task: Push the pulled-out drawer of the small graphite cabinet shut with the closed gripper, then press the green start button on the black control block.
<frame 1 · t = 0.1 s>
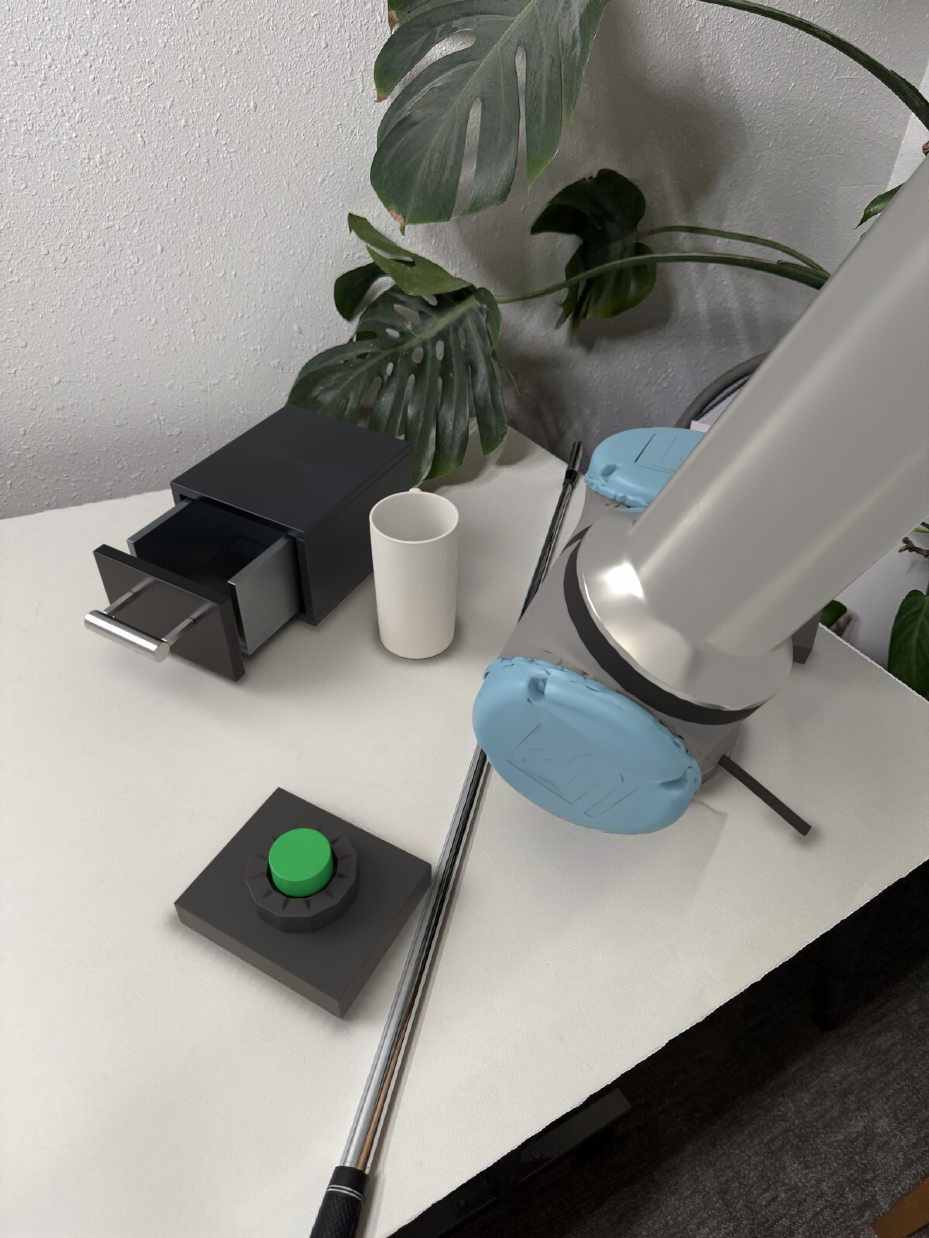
start button: (301, 861, 52), point 4 cm above the table, slide at 0.1 cm
mechanical component: (695, 635, 71), point 2 cm above the table
mug: (417, 623, 75), on the table
drawer: (209, 581, 71), point 5 cm above the table, slide at 8.0 cm
cabinet: (306, 552, 82), on the table
control block: (308, 902, 55), on the table
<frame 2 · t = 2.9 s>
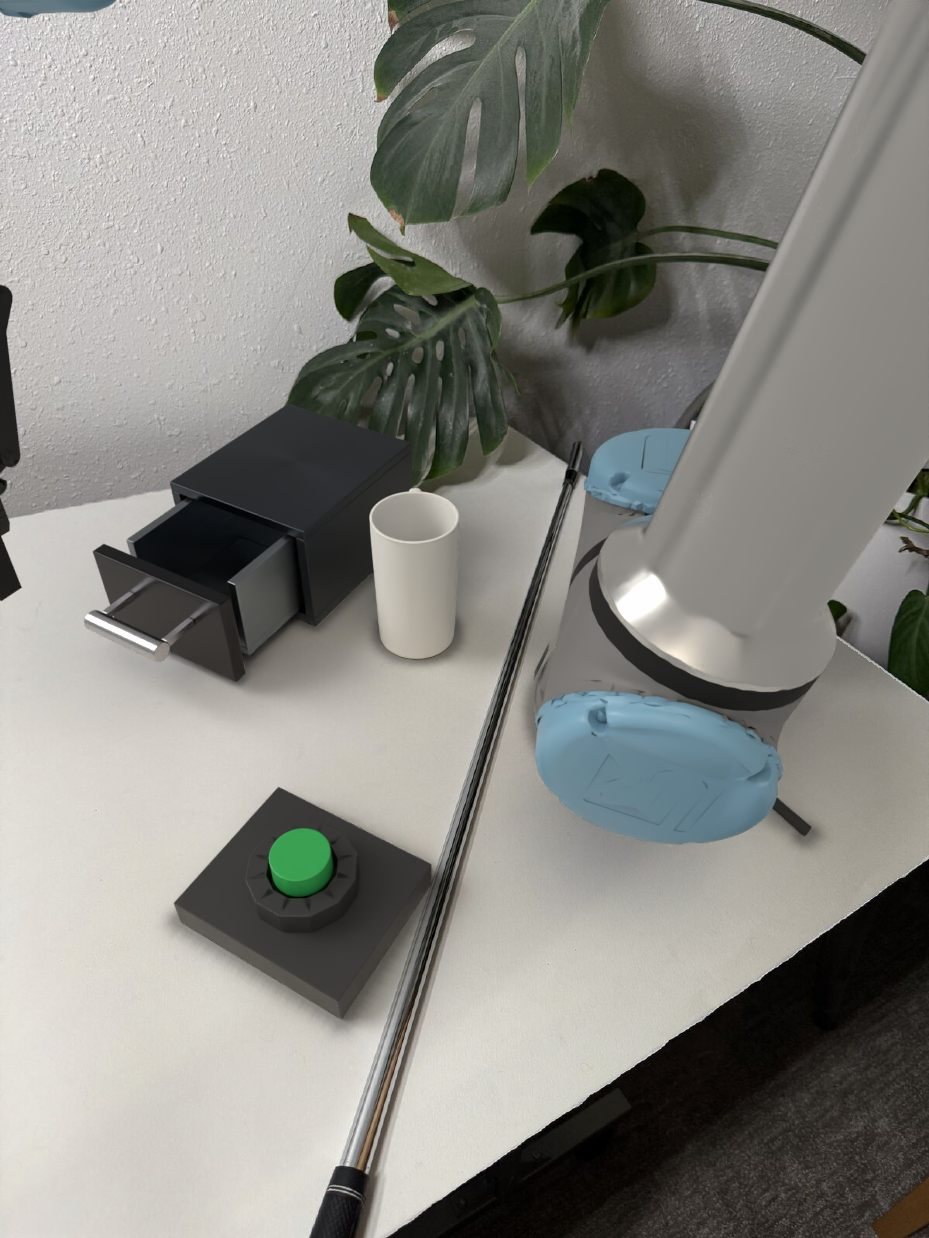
nothing on the table moved.
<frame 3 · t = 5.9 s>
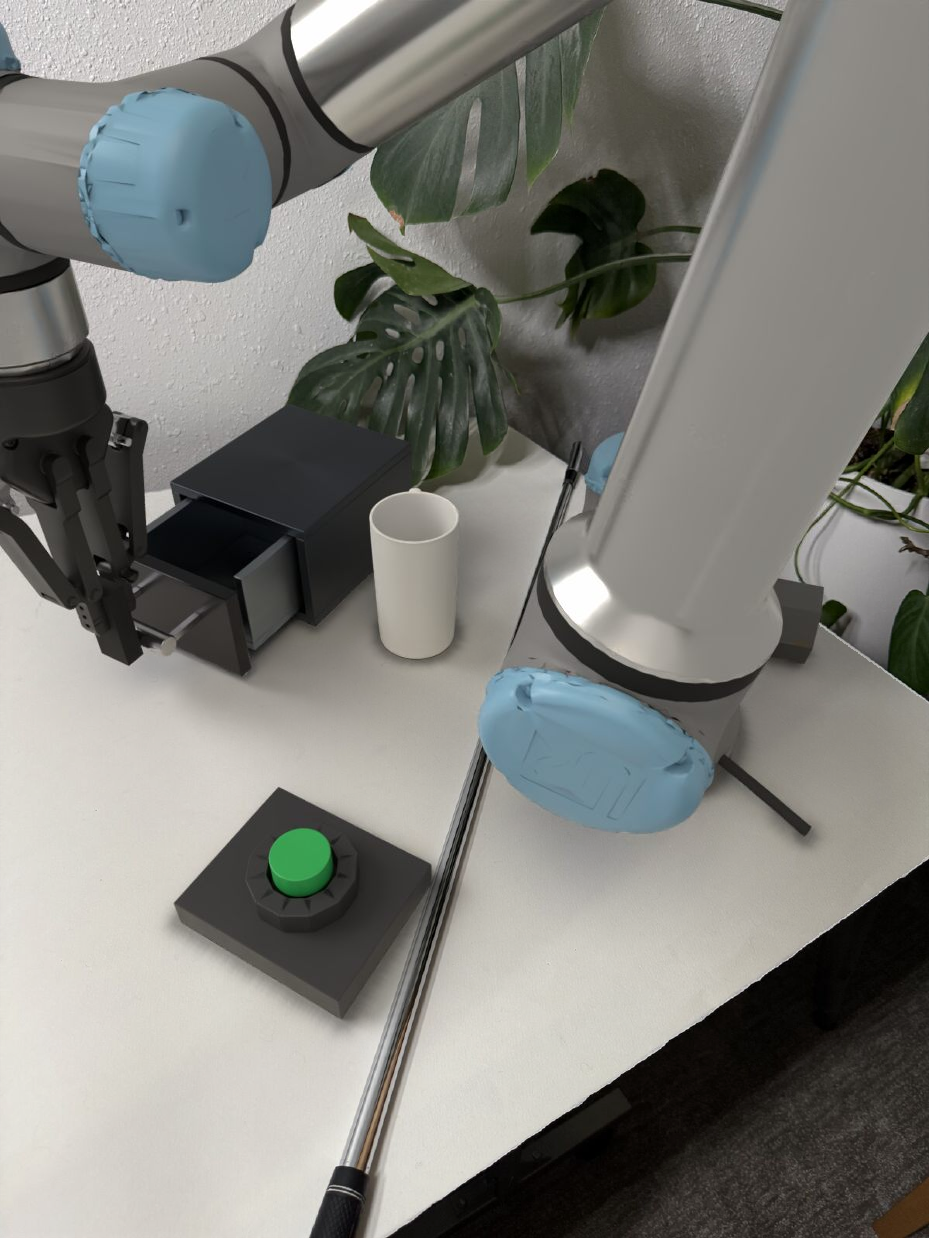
hand: (122, 653, 65), 5 cm above the table, tool pointing down, fingers closed
drawer: (215, 576, 71), point 5 cm above the table, slide at 7.3 cm, touching gripper
everything else where it was.
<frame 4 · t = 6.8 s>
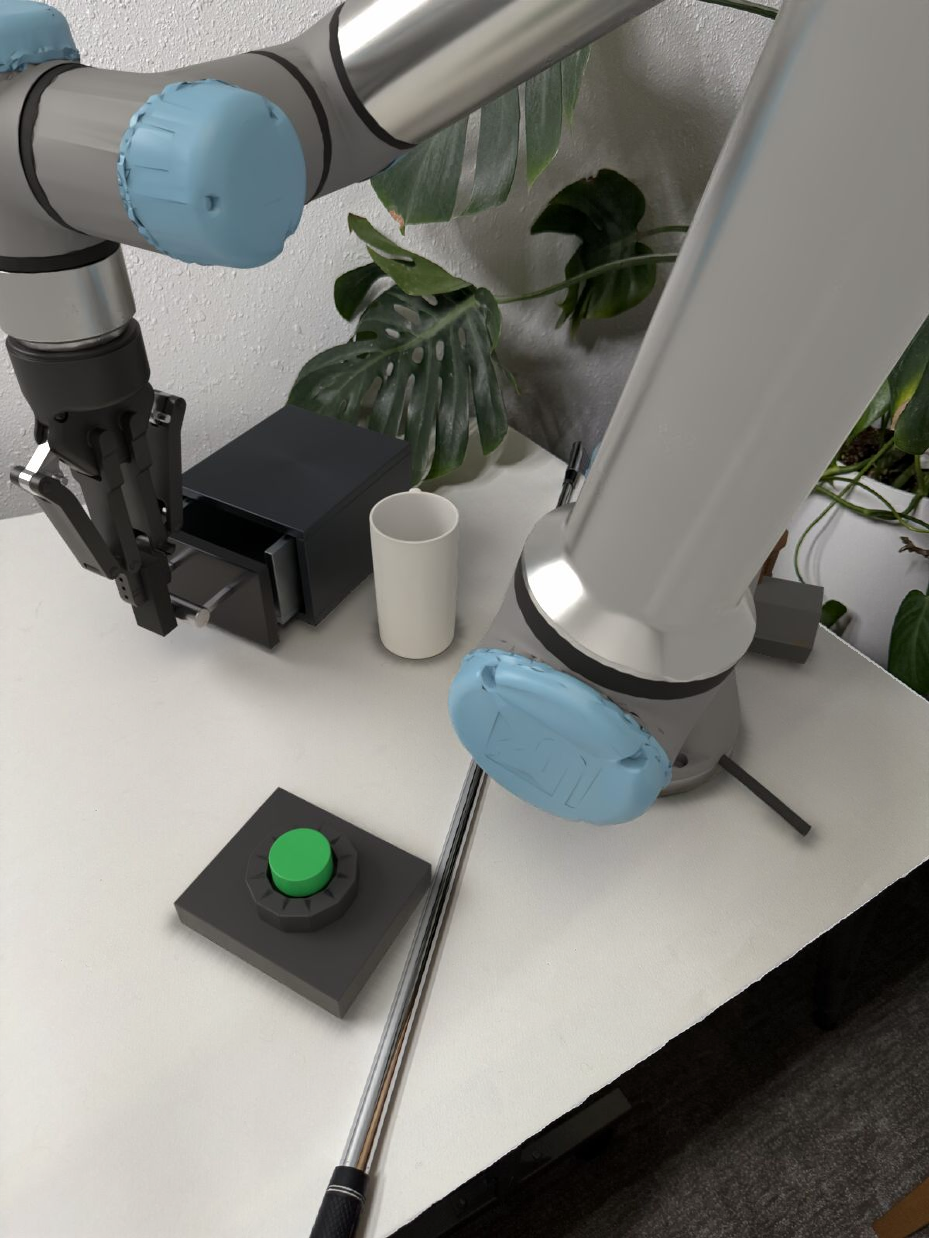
hand: (157, 625, 67), 5 cm above the table, tool pointing down, fingers closed
drawer: (244, 553, 74), point 5 cm above the table, slide at 3.7 cm, touching gripper
everything else where it was.
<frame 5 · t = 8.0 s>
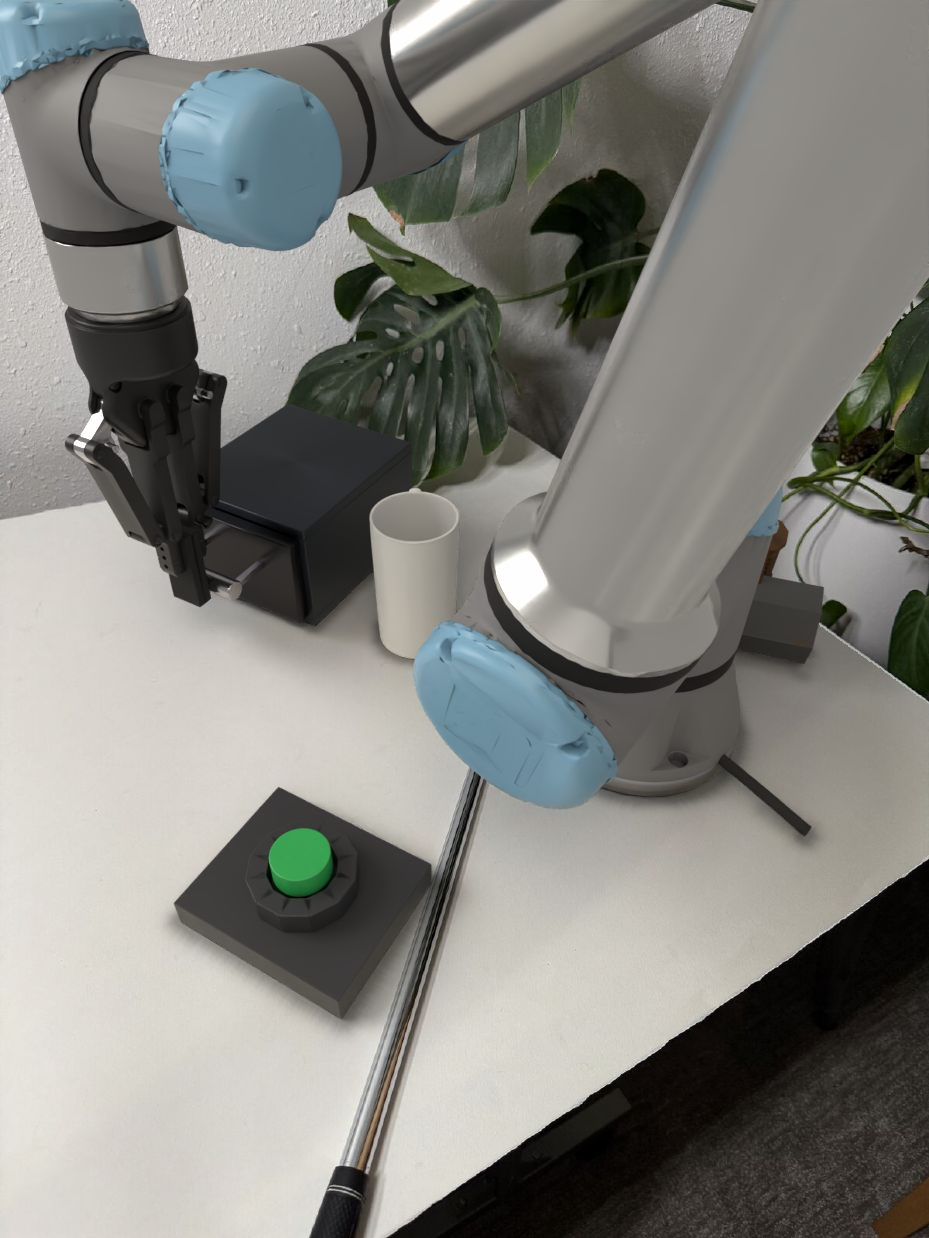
hand: (192, 597, 69), 5 cm above the table, tool pointing down, fingers closed
drawer: (272, 531, 76), point 5 cm above the table, slide at 0.0 cm, touching cabinet, gripper
everything else where it was.
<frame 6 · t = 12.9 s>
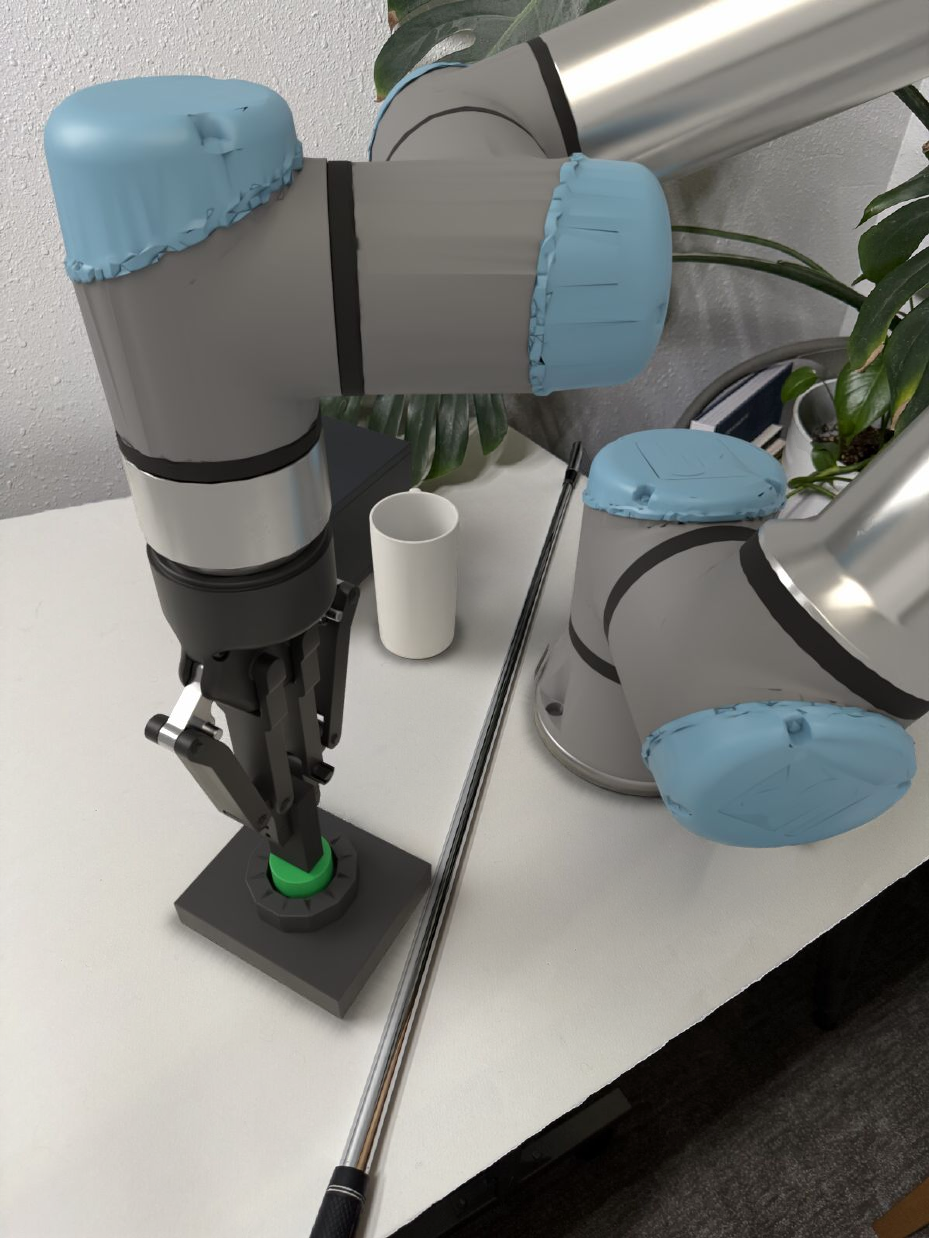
hand: (297, 853, 52), 5 cm above the table, tool pointing down, fingers closed
start button: (301, 864, 52), point 4 cm above the table, slide at -0.2 cm, touching gripper
drawer: (272, 531, 76), point 5 cm above the table, slide at 0.0 cm, touching cabinet
everything else where it was.
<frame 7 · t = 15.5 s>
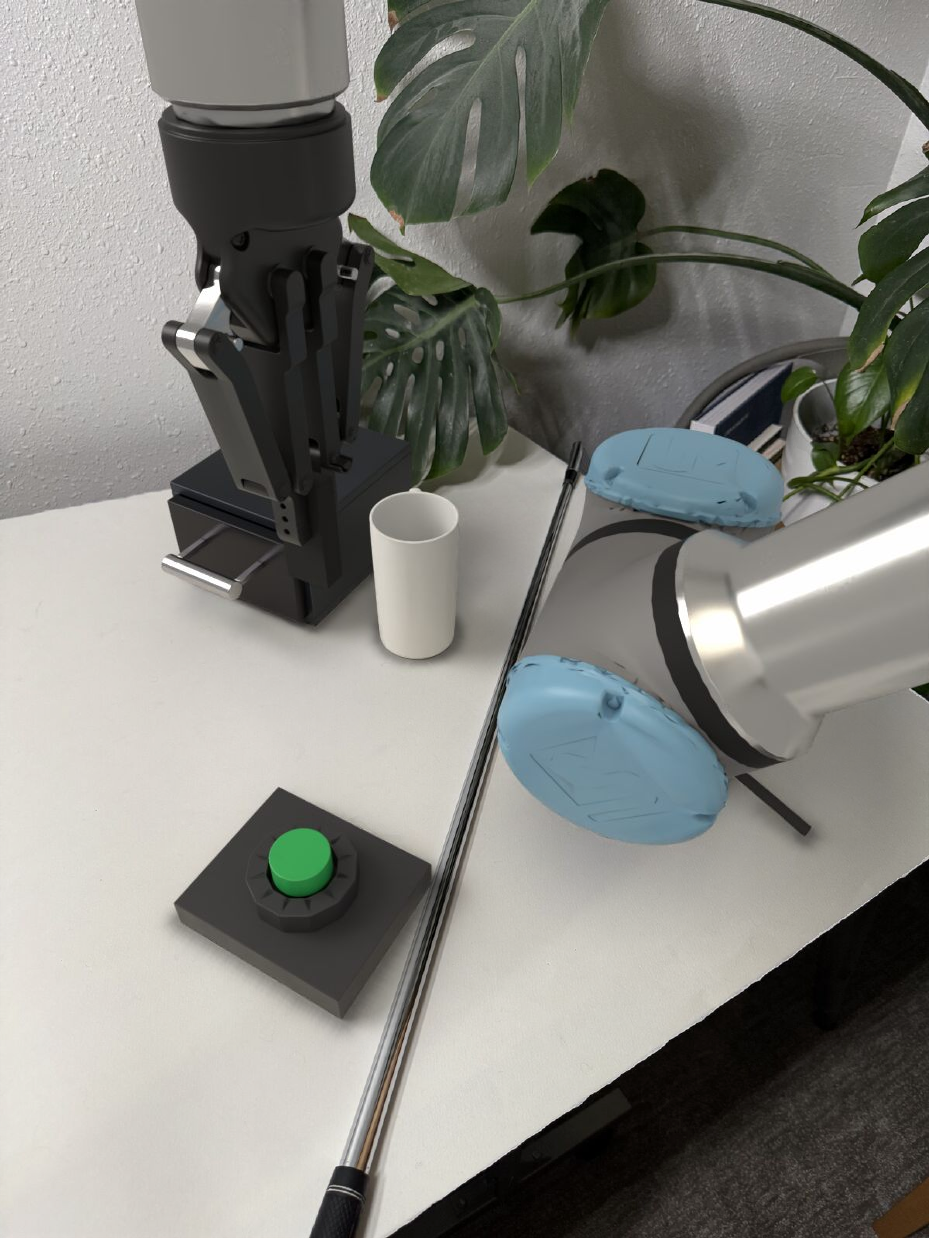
hand: (315, 574, 50), 19 cm above the table, tool pointing down, fingers closed
start button: (301, 861, 52), point 4 cm above the table, slide at 0.1 cm
everything else where it was.
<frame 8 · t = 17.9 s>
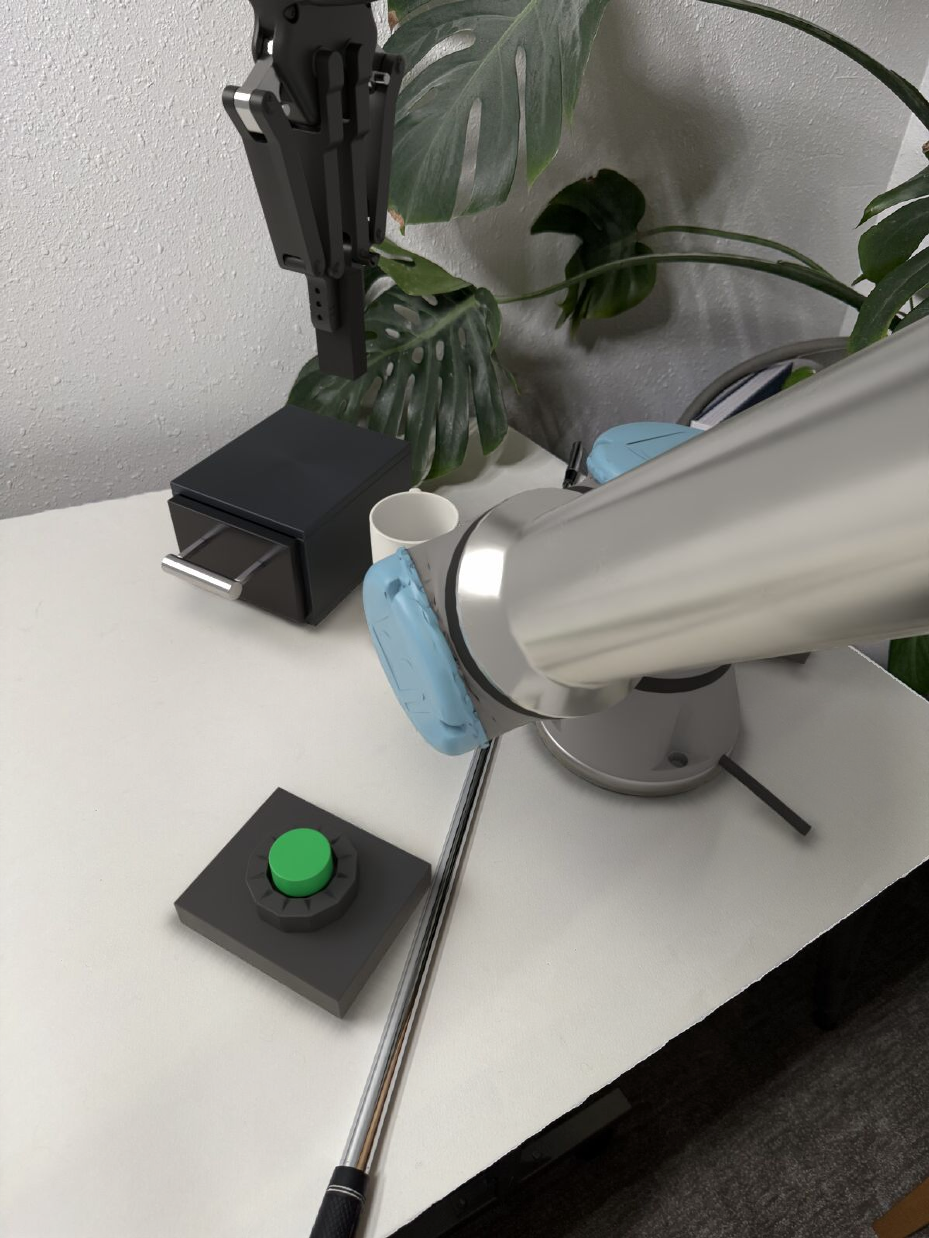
hand: (343, 371, 56), 24 cm above the table, tool pointing down, fingers closed
nothing on the table moved.
at the end: drawer slide at 0.0 cm; start button pushed in 1.0 cm at the most during the clip, back to where it started at the end; start button slide at 0.1 cm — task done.
